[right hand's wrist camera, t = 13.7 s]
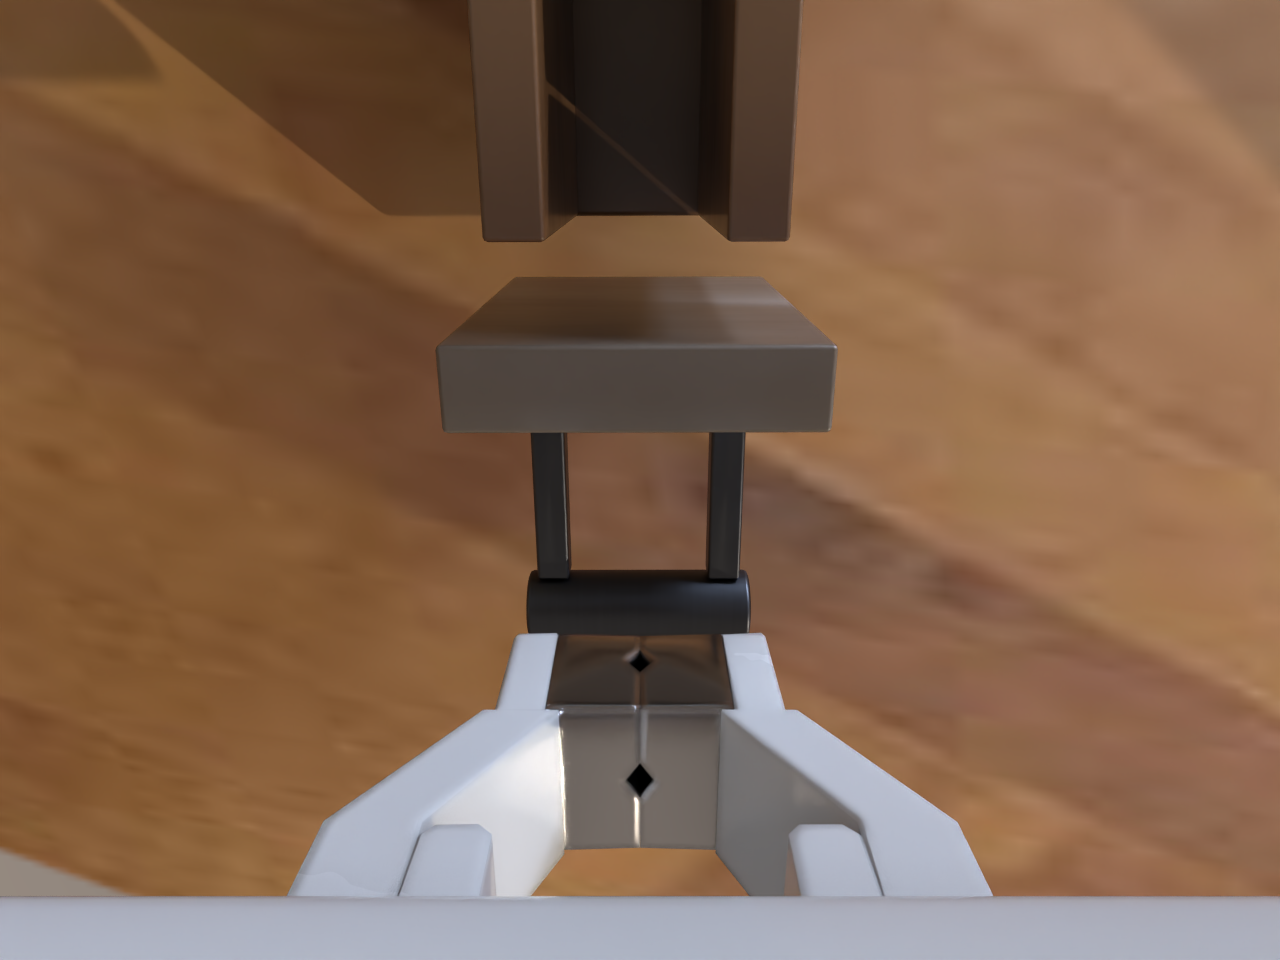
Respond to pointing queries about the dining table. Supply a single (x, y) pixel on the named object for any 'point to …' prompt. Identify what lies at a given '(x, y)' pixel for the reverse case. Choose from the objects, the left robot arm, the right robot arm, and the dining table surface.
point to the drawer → (636, 306)
